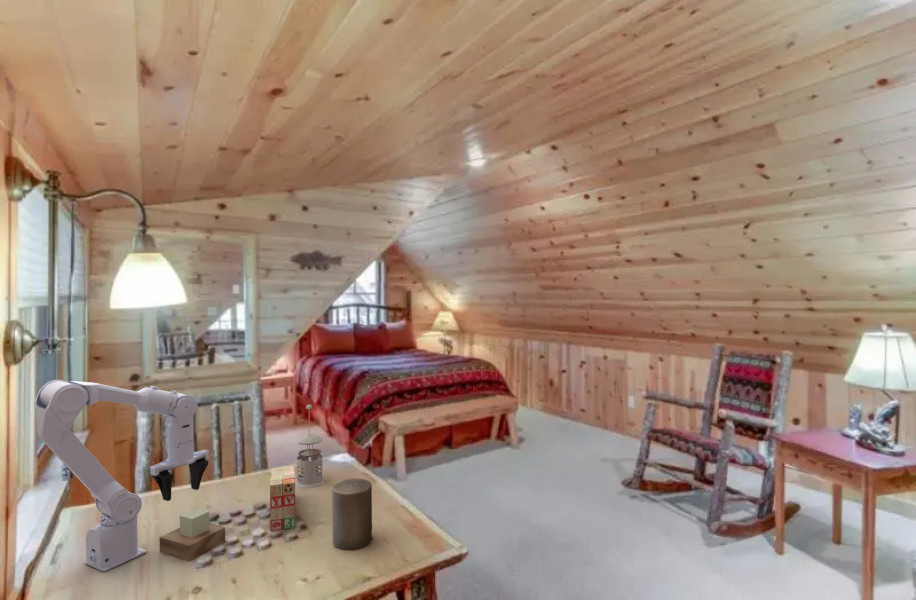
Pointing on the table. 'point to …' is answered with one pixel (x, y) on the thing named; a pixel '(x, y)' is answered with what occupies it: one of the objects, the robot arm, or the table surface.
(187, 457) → the robot arm
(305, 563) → the table surface
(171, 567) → the table surface
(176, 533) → the walnut block
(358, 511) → the pillar candle
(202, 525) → the sage cube
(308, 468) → the french press
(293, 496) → the stack of blocks
